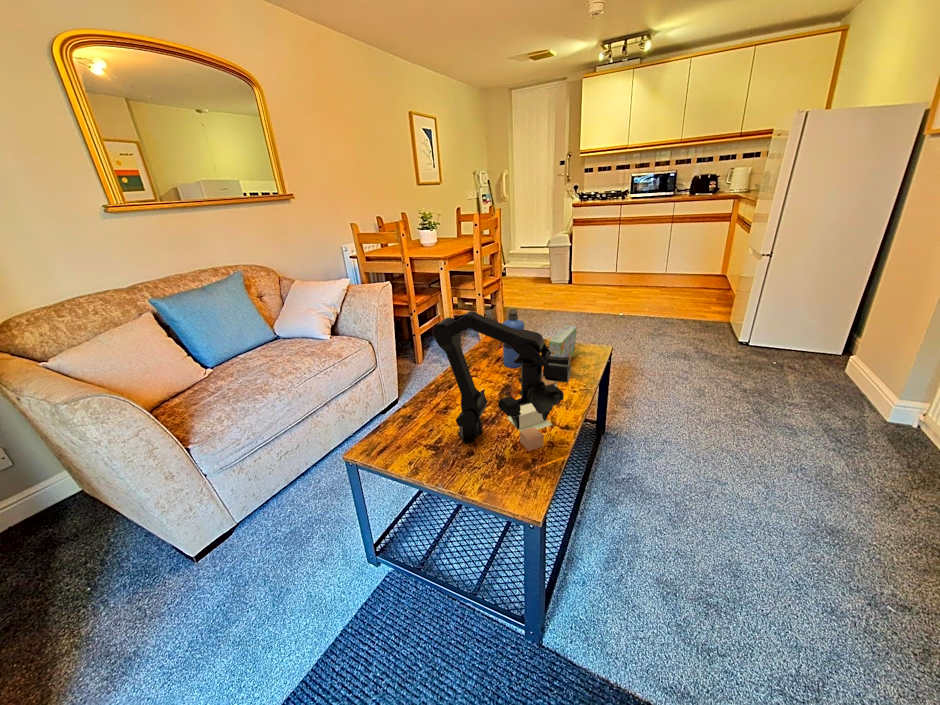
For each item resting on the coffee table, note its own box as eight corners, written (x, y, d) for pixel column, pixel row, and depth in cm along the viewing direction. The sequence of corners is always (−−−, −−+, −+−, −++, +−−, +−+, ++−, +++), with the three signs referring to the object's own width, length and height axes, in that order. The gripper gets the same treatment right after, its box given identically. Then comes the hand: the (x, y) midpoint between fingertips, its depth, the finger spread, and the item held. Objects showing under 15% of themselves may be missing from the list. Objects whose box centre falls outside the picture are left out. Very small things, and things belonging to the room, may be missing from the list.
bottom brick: (519, 429, 126) (519, 415, 124) (512, 421, 131) (511, 408, 129) (546, 420, 130) (546, 407, 128) (537, 413, 134) (537, 400, 132)
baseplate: (523, 436, 124) (523, 434, 124) (506, 420, 133) (506, 417, 133) (552, 427, 128) (552, 424, 128) (534, 411, 137) (534, 409, 137)
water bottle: (499, 362, 176) (497, 308, 166) (517, 357, 180) (516, 305, 170) (509, 370, 168) (508, 314, 158) (528, 365, 172) (528, 310, 162)
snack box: (560, 376, 160) (561, 342, 154) (547, 374, 163) (548, 340, 157) (575, 357, 177) (577, 325, 171) (563, 355, 179) (564, 324, 173)
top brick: (528, 454, 116) (528, 440, 114) (520, 445, 121) (519, 431, 119) (543, 449, 118) (543, 435, 116) (534, 440, 122) (534, 426, 120)
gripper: (517, 398, 100) (517, 448, 106) (577, 381, 106) (574, 429, 113) (496, 380, 109) (498, 427, 115) (552, 365, 116) (551, 411, 122)
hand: (531, 424), depth 116 cm, fingers open, 9 cm apart
